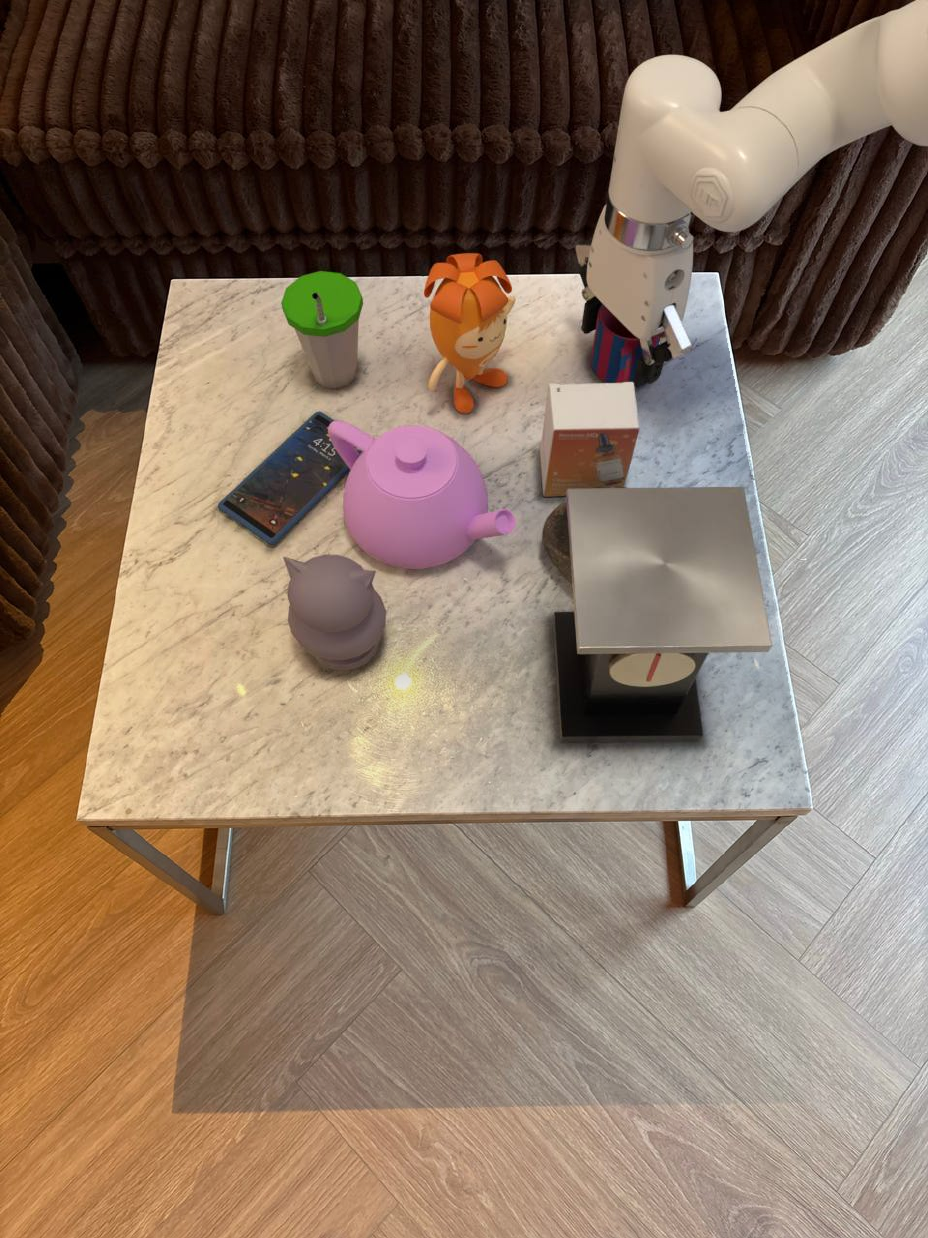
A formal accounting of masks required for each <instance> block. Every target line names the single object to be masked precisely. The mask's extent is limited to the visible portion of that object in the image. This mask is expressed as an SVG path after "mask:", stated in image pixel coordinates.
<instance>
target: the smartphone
mask: <svg viewBox="0 0 928 1238" xmlns="http://www.w3.org/2000/svg"><path fill="white" fill-rule="evenodd" d="M333 421H335V419H333V418H331V417H329V416H328V415H327V414H325V413H324V412H322V411H316V412H314V413H313V414H312V415H311V416H310V417H309V418H307V420H306V421H305V422H303V423H302V424H301V425H300V426H299V427H298V428H297V429H296V430H295V431H294V432H293V433H291V435H290V436H288V438H286V439H285V440H284V441H283V442H282V443H281V444H280V445H279V446H278V447H277V448H276V449H275V450H274V451H273V452H271V454H269V455H268V456H267V457H266V458H265V459H264V460H263V461H262V462H261V463H260V464H258V466H257V467H256V468H254V469H253V470H252V471H251V472H250V473H249V474H248V475H247V476H246V477H245V478H244V479H242V481H240V482H239V484H238V485H236V486H235V487H234V488H233V489H232V490H231V491H230V492H228V494H226V496H225V497H223V499H221V500H220V501H219V503H218V505H217V508H218V510H219V511H220V512H222V513H223V514H224V515H226V516H227V517H228V518H230V519H232V520H233V521H235V522H236V523H238V524H239V525H241V527H242V528H244V529H246V530H247V531H249V532H250V533H251V534H253V535H254V536H255V537H257V538H259V539H260V540H261V541H263V542H264V543H265V544H267V545H268V546H271V547H272V546H276V545H277V544H279V542H281V540H282V539H283V538H284V537H285V536H286V535H287V534H288V533H289V532H291V530H292V529H293V528H295V526H297V524H298V523H300V522H301V520H302V519H303V518H304V517H305V516H307V514H309V513H310V512H311V510H313V509H314V508H315V507H316V505H318V504H319V503H320V502H321V501H322V499H323V498H324V497H326V495H328V494H329V493H330V492H331V491H332V490H333V489H334V488H335V487H336V486H337V485H338V484H339V483H340V482H341V481H342V480H343V479H344V478H345V477H346V476H348V475H349V473H350V471H351V470H350V468H349V467H348V466H347V464H346V463H345V462H344V460H343V459H342V458H341V456H340V455H339V453H338V452H337V450H336V449H335V447H334V446H333V444H332V442H331V440H330V437H329V434H328V427H329V425H330V423H332V422H333ZM354 447H355V446H354ZM355 449H356V451H357V452H358V454H359V455H361V453H362V452H363V451H361V450H360V449H358V448H357V447H355Z"/></svg>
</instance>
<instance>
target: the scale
mask: <svg viewBox="0 0 928 1238" xmlns="http://www.w3.org/2000/svg"><path fill="white" fill-rule="evenodd" d="M565 500H566V502H567V516H568V530H569V544H570V558H571V572H572V584H571V585H572V597H573V598H572V599H573V611H554V612H553V616H552V617H553V618H552V624H553V625H552V626H553V640H554V641H553V642H554V658H555V674H556V675H555V676H556V677H555V678H556V691H557V692H556V693H557V695H556V696H557V706H558V707H557V711H558V726H559V727H558V728H559V742H560V743H561V744H566V743H567V744H570V743H573V744H574V743H578V744H579V743H580V744H581V743H663V742H665V743H666V742H667V743H668V742H669V743H670V742H677V743H679V742H700V741H701V739H702V738H703V737H704V731H703V725H702V717H701V716H702V715H701V709H700V702H699V701H700V700H699V695H698V694H699V693H698V687H697V676H698V674H699V672H700V671H701V669H702V666H703V665H704V663H705V661H706V659H707V657H708V655H709V654H711V653H712V654H717V653H720V654H721V653H726V654H727V653H728V654H729V653H769V652H770V650H771V649H772V647H773V644H772V638H771V631H770V626H769V621H768V615H767V610H766V609H767V608H766V603H765V598H764V597H765V596H764V591H763V586H762V581H761V580H762V579H761V575H760V569H759V563H758V559H757V554H756V547H755V541H754V535H753V530H752V524H751V518H750V512H749V507H748V501H747V495H746V489H745V486H697V487H696V486H694V487H690V486H686V487H684V486H683V487H682V486H681V487H627V488H585V489H567V494H566V496H565Z"/></svg>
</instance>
